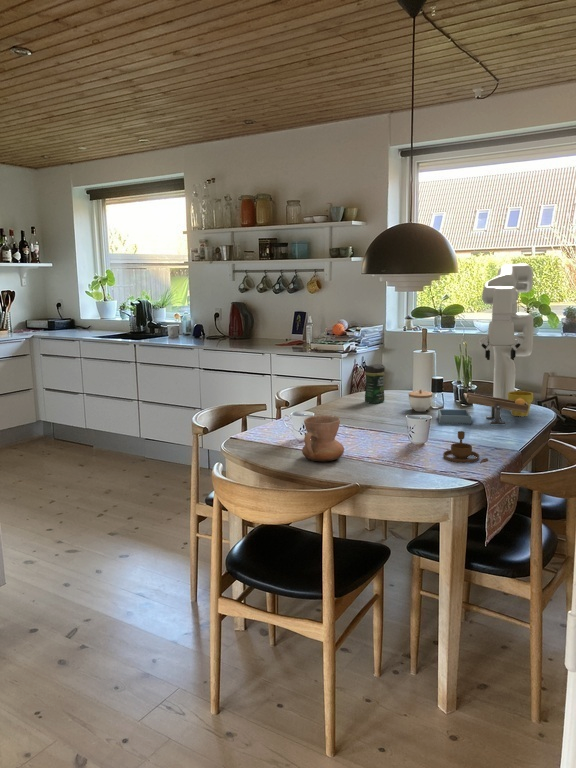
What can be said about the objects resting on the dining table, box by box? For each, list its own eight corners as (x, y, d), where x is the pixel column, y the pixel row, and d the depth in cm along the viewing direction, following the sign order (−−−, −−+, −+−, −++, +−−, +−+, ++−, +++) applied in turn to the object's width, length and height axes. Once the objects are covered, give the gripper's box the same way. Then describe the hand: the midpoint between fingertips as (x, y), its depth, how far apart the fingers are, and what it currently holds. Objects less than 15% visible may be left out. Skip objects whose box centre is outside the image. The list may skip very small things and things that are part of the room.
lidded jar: (430, 407, 291) (431, 387, 289) (433, 412, 280) (434, 392, 279) (407, 407, 292) (407, 387, 290) (409, 412, 281) (409, 392, 280)
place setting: (428, 458, 216) (429, 441, 215) (457, 445, 230) (458, 430, 229) (475, 468, 204) (476, 451, 203) (503, 454, 218) (504, 438, 217)
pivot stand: (486, 417, 268) (486, 399, 266) (500, 418, 267) (501, 399, 266) (490, 424, 257) (490, 405, 255) (505, 424, 256) (506, 405, 254)
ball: (512, 405, 262) (515, 396, 261) (522, 407, 261) (525, 398, 260) (514, 407, 258) (517, 398, 257) (524, 409, 257) (527, 400, 256)
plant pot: (503, 412, 277) (504, 391, 275) (526, 412, 277) (527, 390, 275) (512, 418, 266) (513, 395, 265) (536, 417, 267) (537, 395, 265)
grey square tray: (437, 417, 272) (438, 409, 271) (466, 417, 270) (467, 409, 269) (440, 423, 260) (440, 415, 259) (470, 424, 258) (470, 416, 257)
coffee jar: (374, 404, 299) (374, 366, 296) (362, 402, 305) (362, 364, 301) (387, 401, 305) (387, 364, 302) (375, 399, 311) (375, 362, 308)
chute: (463, 395, 274) (465, 387, 273) (519, 405, 271) (521, 397, 270) (467, 402, 259) (469, 394, 258) (526, 413, 256) (528, 404, 255)
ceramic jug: (322, 449, 228) (320, 411, 225) (354, 455, 218) (353, 416, 216) (289, 462, 215) (287, 422, 212) (322, 469, 205) (321, 427, 202)
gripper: (521, 317, 257) (519, 358, 260) (478, 317, 260) (477, 358, 263) (526, 318, 250) (524, 360, 253) (481, 319, 252) (480, 361, 255)
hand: (500, 359), depth 258 cm, fingers open, 9 cm apart
